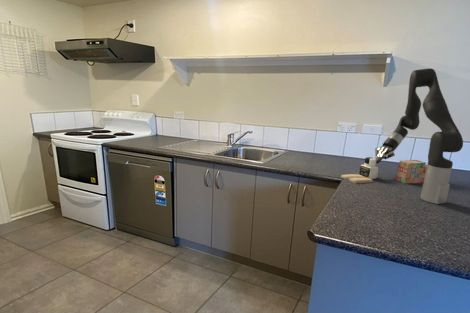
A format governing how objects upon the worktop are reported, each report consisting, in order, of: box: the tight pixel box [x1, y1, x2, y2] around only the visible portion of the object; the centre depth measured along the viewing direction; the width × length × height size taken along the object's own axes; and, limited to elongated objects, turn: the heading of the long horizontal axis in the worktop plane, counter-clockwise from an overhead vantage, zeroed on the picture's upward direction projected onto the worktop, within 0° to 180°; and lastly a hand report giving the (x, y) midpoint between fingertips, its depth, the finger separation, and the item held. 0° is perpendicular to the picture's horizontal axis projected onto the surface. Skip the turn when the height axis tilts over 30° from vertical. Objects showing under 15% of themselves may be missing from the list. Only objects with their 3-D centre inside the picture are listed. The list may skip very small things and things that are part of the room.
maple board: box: [340, 173, 374, 184], centre depth 158 cm, size 12×12×1 cm
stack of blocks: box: [395, 159, 427, 184], centre depth 159 cm, size 21×6×12 cm, turn 103°
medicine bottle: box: [358, 156, 379, 180], centre depth 162 cm, size 7×7×12 cm
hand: (375, 162), depth 164 cm, fingers closed
